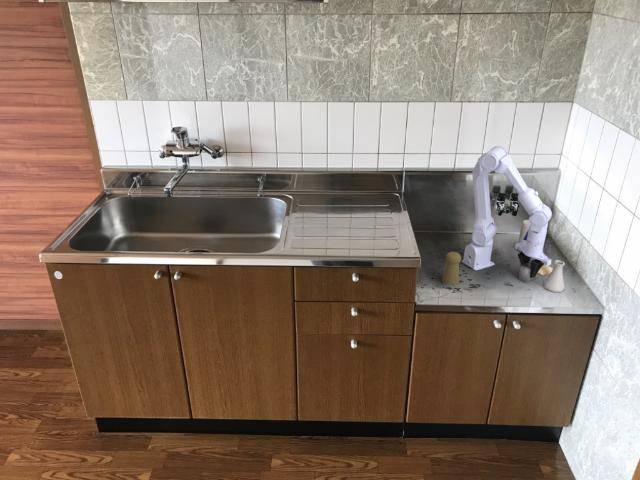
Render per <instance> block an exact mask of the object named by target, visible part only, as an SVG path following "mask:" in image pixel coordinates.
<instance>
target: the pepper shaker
mask: <svg viewBox="0 0 640 480" xmlns="http://www.w3.org/2000/svg"><path fill="white" fill-rule="evenodd" d="M445 261H446V263H445V267H444V270H443V274H442V277H441V282H442V283H443V284H445V285H449V286H456V284H457V285H458V284H459V283H460V263H461V262H462V256H461V254H460V253H459V252H457V251H450V252H448V253H446V254H445Z"/></svg>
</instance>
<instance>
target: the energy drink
mask: <svg viewBox="0 0 640 480" xmlns="http://www.w3.org/2000/svg"><path fill="white" fill-rule="evenodd" d="M529 227H530V222H529V219H524V220H522V222H521V225H520V232H519V236H518V240H517V243H521V244H524V245H526V241H527V236H528V231H529ZM517 251H519V253H520V252H521V250H519V249H517Z"/></svg>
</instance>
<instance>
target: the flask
mask: <svg viewBox="0 0 640 480" xmlns="http://www.w3.org/2000/svg"><path fill="white" fill-rule="evenodd" d="M553 263H554V265H553V266H554V267H552V268H553V270H552V272H551V273H550V274H548V276H547V277H546V279H545V280H544V282H543V283H542V287H543V289H545V290H548V291H550V292H553V293H562V292H564V291H565V290H566V288H565V283H564V282H565V281H564V275H563V268H564V266H565V265H566V264H565V262H564V260H558V259H556V260H554V262H553Z"/></svg>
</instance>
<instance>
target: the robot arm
mask: <svg viewBox="0 0 640 480" xmlns="http://www.w3.org/2000/svg"><path fill="white" fill-rule="evenodd" d="M494 170H495V171H494ZM492 171H494V173H495V174H499V175H504V176H505V177H506V178H507V180H508V181H509V182H510V184H511V186H512V187H513V188H514V189H515V190H516V191H517V194H518V195H517V200H518V201H519V202H520V204H521V206H522V207H523V208H524V210H525V212H527V214H528V215H529V218H528V220H529V222H530V227H529V231H528V236H527V241H526V245H524V244H521V243H518V242H517V243H514V244H515V245H514V249H516V250H518V249H519V250H521V252H520V251H519V250H518V251H519V253H517V257H518V260H519V263H520V264H519V265H520V266H521V265H523V264H526V263H529V262H530V263H531V272H530V277H531V278H533V277H536V278H537V275H538V271H539V270H540V268H541V267H542V266H543V265H544V264H545V266H549V267H550V266H551V265H552V259H551V258H549V257H548V256H547V255H546V254H545V253H544V246H545V241H546V237H547V233H548V226H549V221H550V220H551V219H552V216H553V212H552V210H551V207H550V206H547V205H546V204H544V203H543V202H542V200H541V198H540V197H539V193H538V191H537V190H536V191H535V190H534V188H531V187H528V186H527V184H526V182H525V181H524V179H523V177H522V175H521V173H520V172H519V171H518V168H517V167H516V165H515V163H514V162H513V159H512V157H511V155H510V154H509V153H508V151H507V150H506V148H505V147H503V146H500V145H497V146H494V147H492V148H491V149H490V150H488V151H486V152H484V153H483V154H482V155H480V157H478V158H477V162H476V164H475V165H474V167H473V169H472V173H471V174H472V187H473V188H472V189H473V197H474V199H473V200H474V213H475V220H474V223H473V226H472V228H473V229H472V232H471V237H470V238H471V242H470V243H468V244H467V245H466V246H465V248H464V253H463V259H461V262H462V263H463V264H464V265H467V267H469V268H471V269H472V270H474V271H479V270H483V269H486V268H491V267H493V266H495V263H494V262H493V261H491V256H492V250H493V247H494V239H493V238H494V237H495V236H496V234H497V232H498V229H497V225H496V224H495V221H494V220H495V219H494V217H492V213H491V198H490V184H489V174H490V173H492ZM531 259H533V260H531Z"/></svg>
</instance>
